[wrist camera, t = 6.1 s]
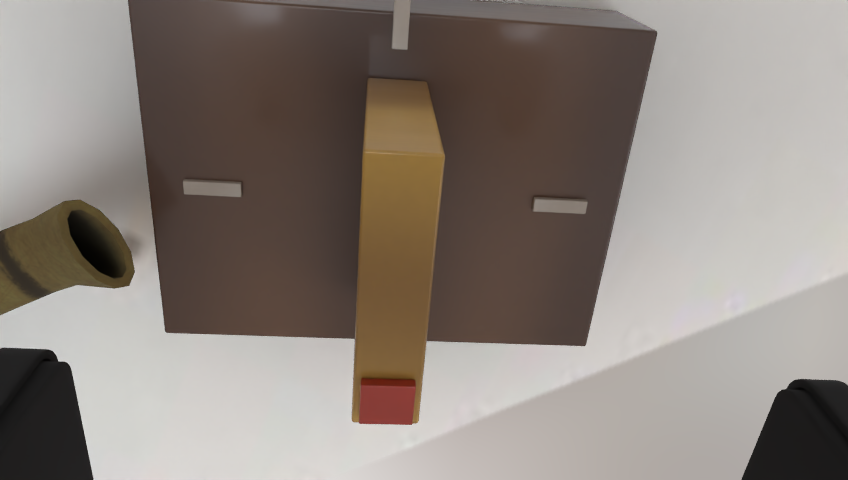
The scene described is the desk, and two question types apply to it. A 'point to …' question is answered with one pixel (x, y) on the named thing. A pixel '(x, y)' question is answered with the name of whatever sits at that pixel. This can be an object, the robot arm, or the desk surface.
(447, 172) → the tap block
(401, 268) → the tap handle
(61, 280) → the teapot
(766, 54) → the desk surface
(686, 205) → the desk surface
